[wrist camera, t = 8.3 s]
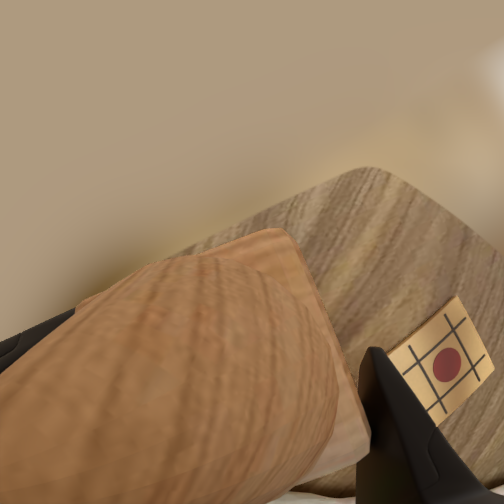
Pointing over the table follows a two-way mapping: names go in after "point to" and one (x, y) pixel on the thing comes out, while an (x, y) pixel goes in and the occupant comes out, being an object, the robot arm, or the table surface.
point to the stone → (298, 500)
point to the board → (443, 360)
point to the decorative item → (185, 387)
